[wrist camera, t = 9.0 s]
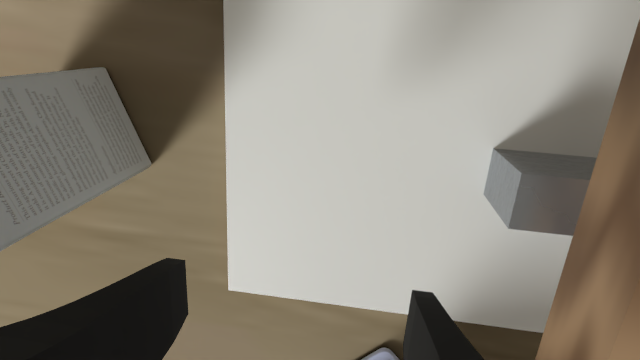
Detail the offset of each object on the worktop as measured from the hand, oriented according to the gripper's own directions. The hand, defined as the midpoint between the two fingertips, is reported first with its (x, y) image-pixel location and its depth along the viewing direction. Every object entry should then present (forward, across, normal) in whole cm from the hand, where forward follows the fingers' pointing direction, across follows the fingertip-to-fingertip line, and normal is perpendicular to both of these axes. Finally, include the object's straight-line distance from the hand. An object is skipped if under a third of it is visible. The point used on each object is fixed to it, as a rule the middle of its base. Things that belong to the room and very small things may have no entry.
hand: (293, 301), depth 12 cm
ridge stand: (+10, -6, -2) cm, 12 cm away
